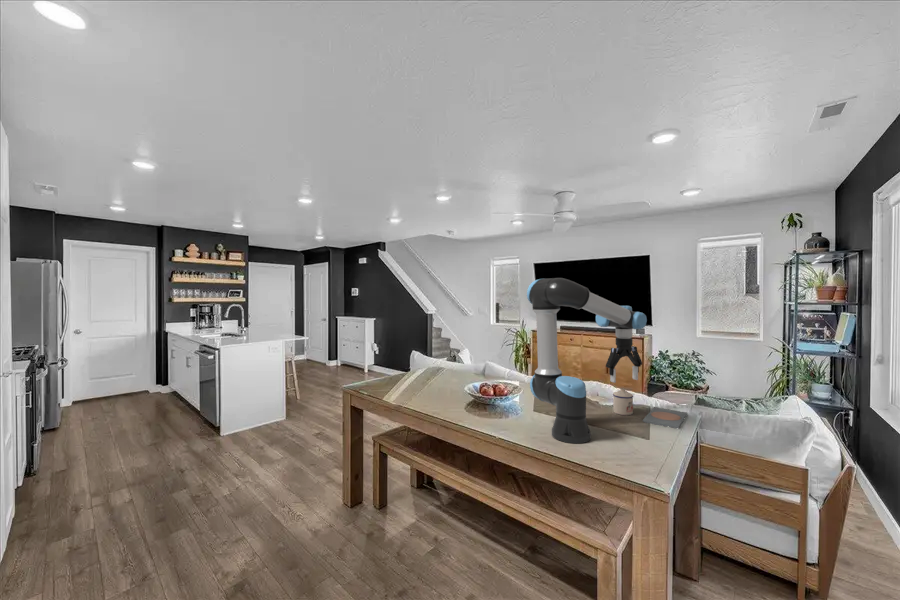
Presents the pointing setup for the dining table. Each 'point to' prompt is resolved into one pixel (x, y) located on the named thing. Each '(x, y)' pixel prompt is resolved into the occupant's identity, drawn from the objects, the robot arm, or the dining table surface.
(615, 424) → the dining table surface
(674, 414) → the slate tray
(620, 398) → the teacup with lid
